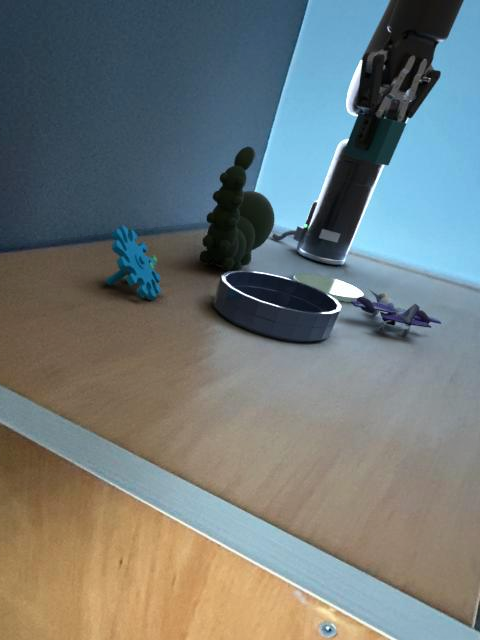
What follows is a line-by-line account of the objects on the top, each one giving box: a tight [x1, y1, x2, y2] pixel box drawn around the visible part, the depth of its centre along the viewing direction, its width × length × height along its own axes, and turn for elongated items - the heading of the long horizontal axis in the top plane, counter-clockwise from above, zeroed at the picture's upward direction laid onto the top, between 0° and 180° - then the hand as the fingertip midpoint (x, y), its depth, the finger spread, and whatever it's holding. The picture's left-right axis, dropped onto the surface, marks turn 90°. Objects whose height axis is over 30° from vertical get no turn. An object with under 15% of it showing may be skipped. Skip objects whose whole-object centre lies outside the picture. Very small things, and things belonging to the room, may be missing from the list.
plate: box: [292, 272, 365, 303], centre depth 98 cm, size 12×12×1 cm
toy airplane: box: [350, 289, 442, 338], centre depth 85 cm, size 13×14×4 cm
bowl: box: [213, 270, 343, 343], centre depth 77 cm, size 16×16×4 cm
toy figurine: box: [198, 146, 275, 272], centre depth 94 cm, size 9×19×25 cm
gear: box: [105, 224, 162, 301], centre depth 76 cm, size 11×6×10 cm
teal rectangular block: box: [343, 113, 407, 166], centre depth 79 cm, size 6×3×5 cm, turn 29°
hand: (369, 149), depth 80 cm, fingers closed on teal rectangular block, 3 cm apart
